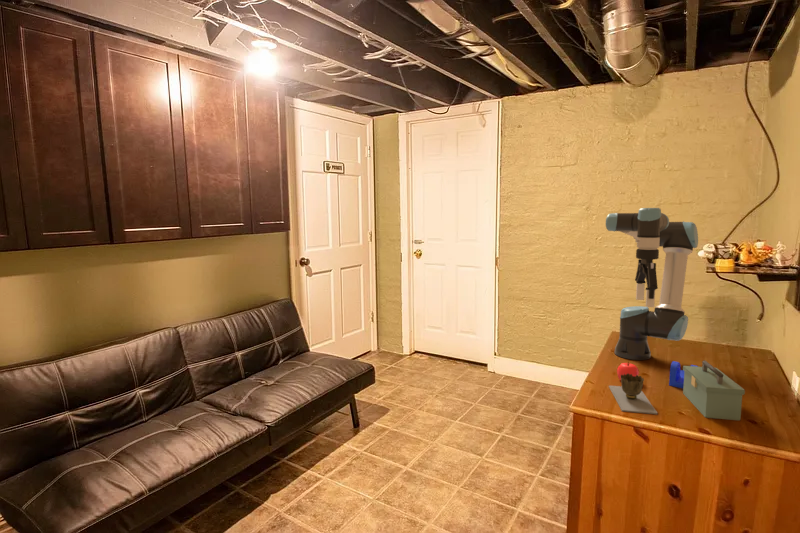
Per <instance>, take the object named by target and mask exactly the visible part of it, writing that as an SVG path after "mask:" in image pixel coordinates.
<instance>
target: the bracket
mask: <svg viewBox="0 0 800 533" xmlns="http://www.w3.org/2000/svg"><path fill="white" fill-rule="evenodd" d="M690 366H696V367H699V366H698V365H694V364H690ZM668 378H669V381H668V386H670V387H674V388H675V387H676V388H678V389H683V386H684V370H683V369H681V363H680V362H679V361H676V360H675V361H674V360H673V361H671V363H670V368H669V377H668Z"/></svg>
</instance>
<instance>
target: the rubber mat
mask: <svg viewBox="0 0 800 533" xmlns="http://www.w3.org/2000/svg"><path fill="white" fill-rule="evenodd" d="M608 388H609V390H610V391H611V393H612V395H613V397H614V399H615V401H616V403H617V405H618V406H619V408H620V411H621V412H628V413H635V414H636V413H637V414H638V413H640V414H647V415H650V414H651V415H658V413H659V412H658V411H657V410H656V409H655V407H654V405H652V404H651V401H650V400H649V399H648V398H647V396H646V394H645V393H644V392H643V390H642V391H641V393H640V394H639V395H637V398H636V399H628V398H627V397H626V393H625V392H624V391H623V390H622V385H621V386H620V385H608Z"/></svg>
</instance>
